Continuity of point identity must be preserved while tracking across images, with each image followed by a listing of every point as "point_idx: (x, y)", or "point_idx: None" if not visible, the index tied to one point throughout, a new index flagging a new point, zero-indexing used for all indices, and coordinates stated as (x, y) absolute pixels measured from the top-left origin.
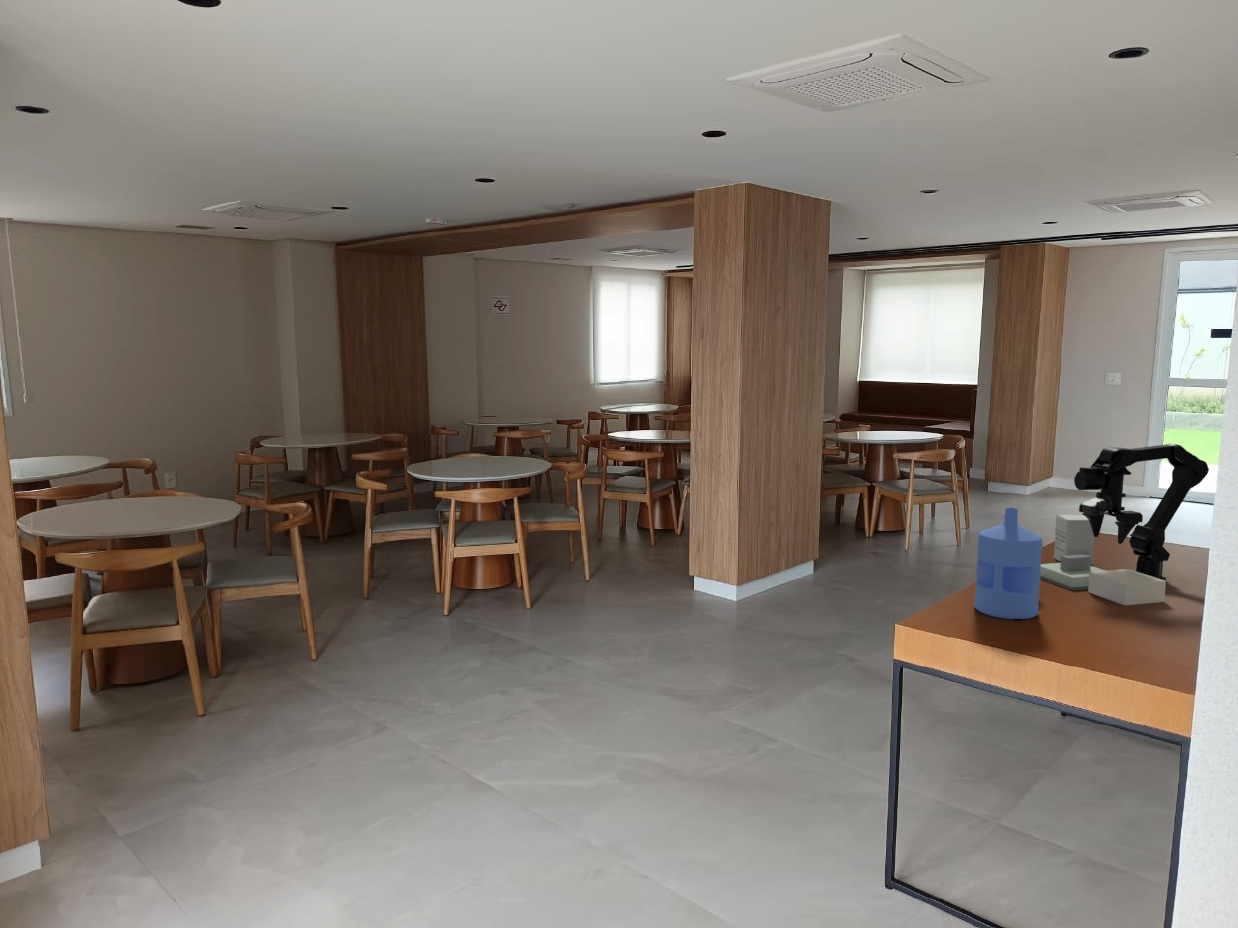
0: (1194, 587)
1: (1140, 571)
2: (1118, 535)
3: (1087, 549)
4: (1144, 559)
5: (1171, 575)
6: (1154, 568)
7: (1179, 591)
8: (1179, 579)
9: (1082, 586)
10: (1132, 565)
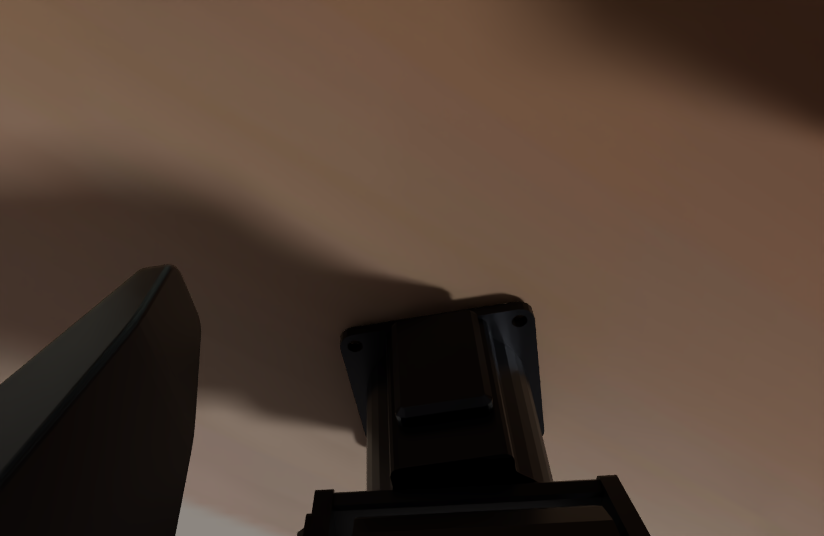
0: None
1: (423, 346)
2: (52, 388)
3: None
4: (416, 460)
5: None
6: (367, 449)
7: (14, 362)
8: None
9: None
10: (789, 448)
